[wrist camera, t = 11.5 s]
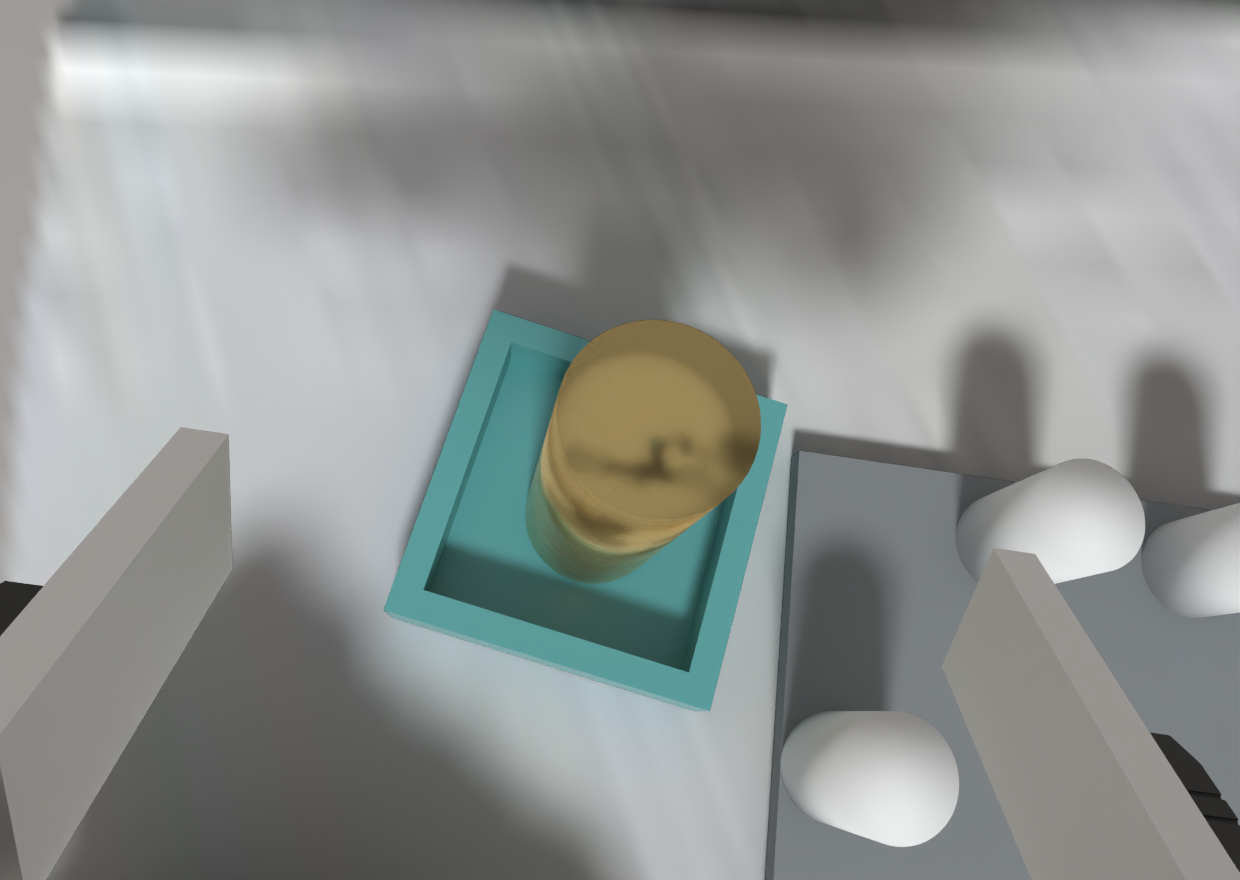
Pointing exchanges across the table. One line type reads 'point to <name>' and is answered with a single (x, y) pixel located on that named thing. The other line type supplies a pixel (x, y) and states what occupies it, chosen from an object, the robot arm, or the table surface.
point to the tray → (525, 585)
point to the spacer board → (925, 628)
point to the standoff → (639, 448)
